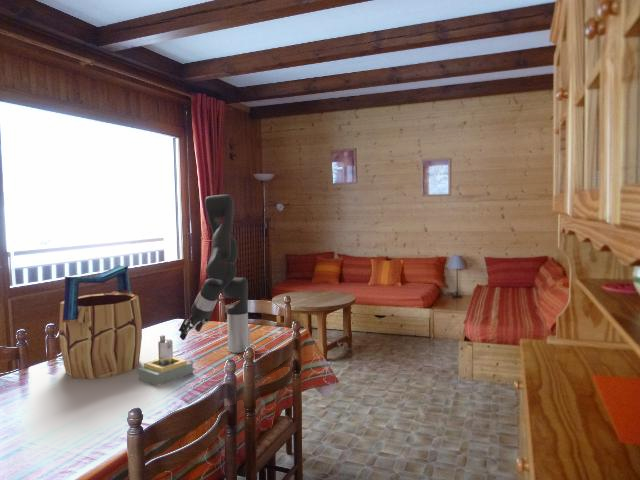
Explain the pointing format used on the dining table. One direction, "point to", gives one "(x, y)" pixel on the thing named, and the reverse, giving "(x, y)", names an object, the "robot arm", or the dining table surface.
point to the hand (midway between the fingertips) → (189, 334)
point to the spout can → (165, 351)
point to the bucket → (100, 328)
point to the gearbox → (164, 371)
